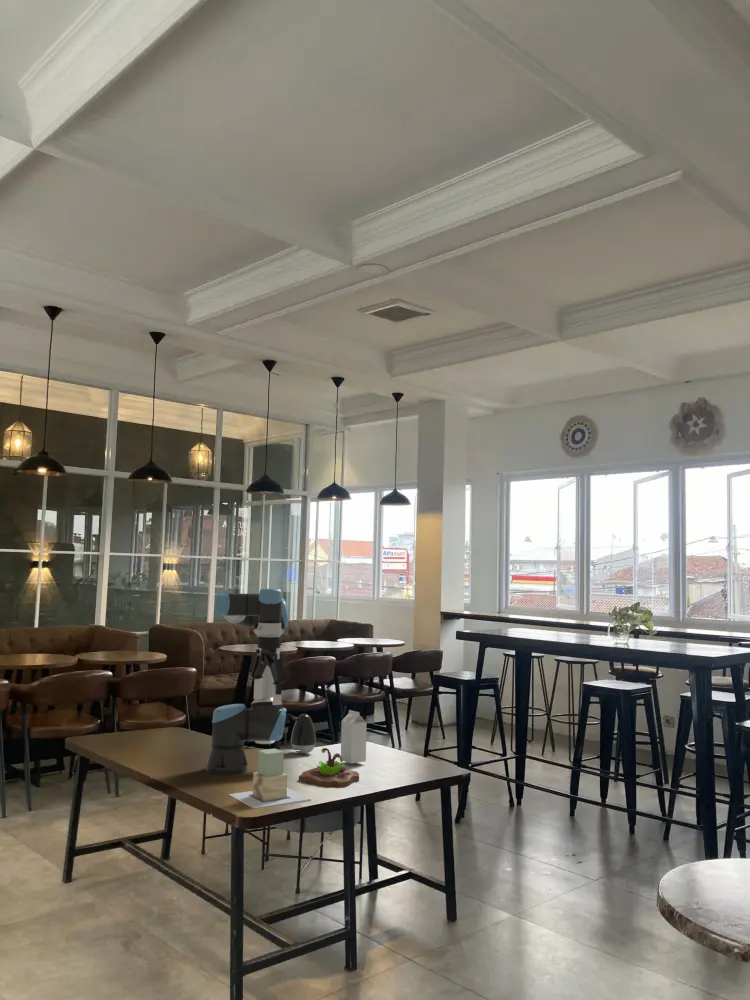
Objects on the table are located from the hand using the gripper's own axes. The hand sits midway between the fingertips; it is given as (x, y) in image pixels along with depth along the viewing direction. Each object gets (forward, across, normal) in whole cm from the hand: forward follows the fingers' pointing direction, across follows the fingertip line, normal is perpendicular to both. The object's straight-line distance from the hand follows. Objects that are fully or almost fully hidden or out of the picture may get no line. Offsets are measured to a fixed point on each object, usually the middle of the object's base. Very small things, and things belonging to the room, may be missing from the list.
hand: (267, 701), depth 263 cm
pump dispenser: (+31, -53, +44) cm, 75 cm away
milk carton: (+31, -29, +53) cm, 67 cm away
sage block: (+22, +4, 0) cm, 22 cm away
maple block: (+29, +4, 0) cm, 29 cm away
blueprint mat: (+30, +4, 0) cm, 30 cm away
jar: (+31, -78, +39) cm, 92 cm away
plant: (+31, -9, +30) cm, 44 cm away
